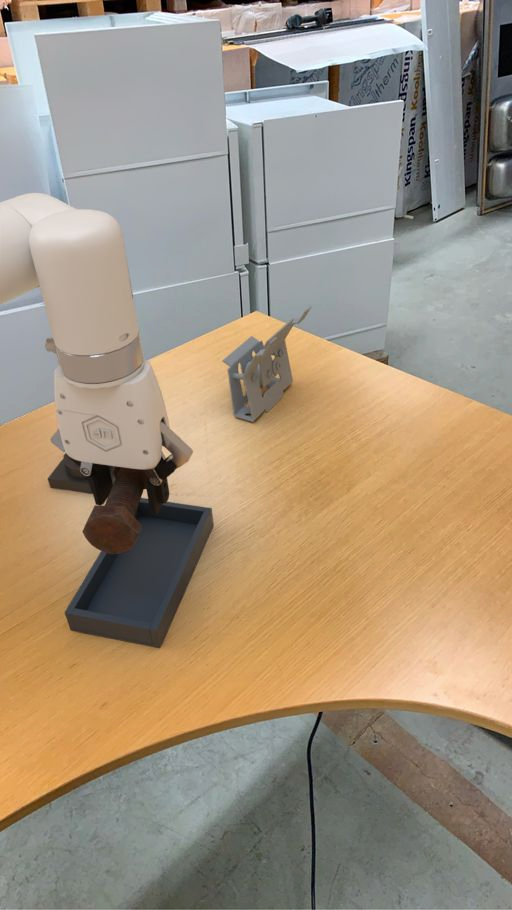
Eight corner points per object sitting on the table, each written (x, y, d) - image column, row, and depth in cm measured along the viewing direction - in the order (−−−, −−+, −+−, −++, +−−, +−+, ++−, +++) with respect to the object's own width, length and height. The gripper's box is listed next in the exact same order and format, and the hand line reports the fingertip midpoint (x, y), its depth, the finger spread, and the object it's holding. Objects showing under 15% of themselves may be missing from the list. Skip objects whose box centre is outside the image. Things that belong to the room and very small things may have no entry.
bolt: (155, 472, 78) (123, 563, 66) (115, 454, 77) (76, 543, 65) (174, 437, 75) (144, 526, 63) (133, 419, 74) (95, 505, 62)
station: (50, 487, 91) (44, 468, 89) (76, 453, 98) (71, 434, 95) (109, 496, 89) (104, 476, 87) (132, 460, 96) (128, 441, 93)
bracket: (273, 430, 100) (270, 342, 91) (219, 413, 104) (211, 328, 95) (310, 389, 109) (311, 305, 100) (259, 376, 113) (255, 294, 104)
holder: (70, 630, 72) (64, 612, 70) (137, 514, 86) (133, 496, 85) (160, 648, 70) (156, 630, 68) (213, 525, 84) (211, 507, 82)
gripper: (-5, 365, 59) (43, 513, 70) (175, 384, 55) (196, 537, 66) (37, 327, 65) (76, 469, 76) (202, 342, 61) (217, 489, 72)
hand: (131, 499), depth 71 cm, fingers closed on bolt, 5 cm apart
